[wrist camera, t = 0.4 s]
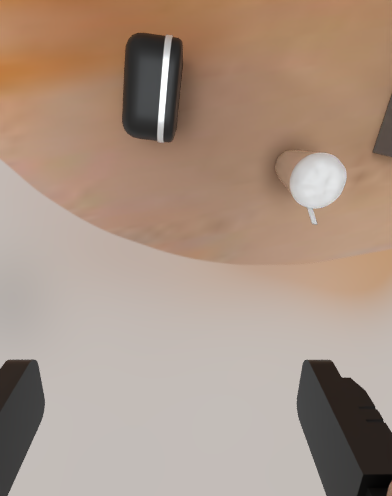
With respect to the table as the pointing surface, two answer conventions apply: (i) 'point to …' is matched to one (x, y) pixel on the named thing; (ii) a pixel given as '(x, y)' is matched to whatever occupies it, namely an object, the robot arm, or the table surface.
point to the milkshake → (311, 178)
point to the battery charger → (152, 86)
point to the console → (385, 134)
